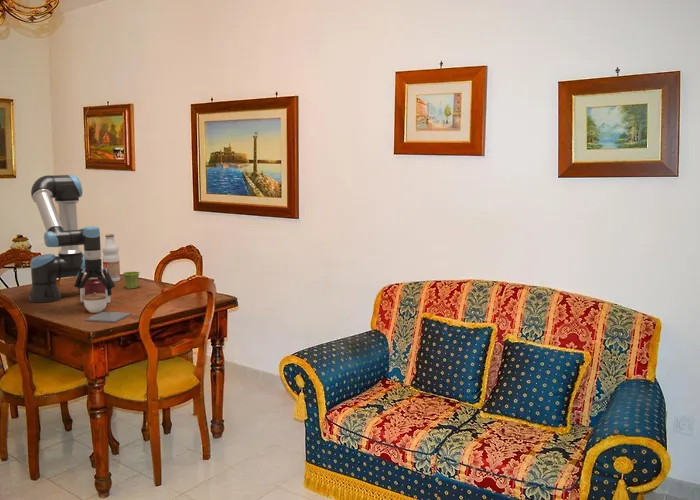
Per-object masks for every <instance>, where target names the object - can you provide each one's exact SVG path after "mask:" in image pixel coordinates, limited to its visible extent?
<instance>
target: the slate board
mask: <svg viewBox="0 0 700 500" xmlns="http://www.w3.org/2000/svg"><path fill="white" fill-rule="evenodd" d="M132 315H133V313H131V312H119V311H104V310H103V311H102V312H98V313H95V314H93V315H92V316H90V317H88V318H85V319H84V321H85V322H93V321H98V322H97V323H110V322H112V323H115V324H116V323H118V322H119V320H120V321H122V320H124V319H126V318H128V317H130V316H132ZM112 323H111V324H112Z"/></svg>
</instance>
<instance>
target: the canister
mask: <svg viewBox="0 0 700 500" xmlns="http://www.w3.org/2000/svg"><path fill="white" fill-rule="evenodd" d="M101 274H102V275H103V276H104V274H103V273H101ZM85 276H86V274H84V275H83V278H82V280H83V279H84V278H85ZM104 278H105V276H104ZM105 279H106V278H105ZM82 280H81V282H82ZM106 281H107V280H106ZM82 288H85V295H88V294H94V292H96V293H101V294H106V293H105V290H106V289H107V288H106V287H105V286H104V285H103V283H102V282H101V281H100V280H99V279H98V278H89V279H88V281H87V282H86V283H85V285H84V286H83V287H82ZM81 303H82V306H84V307H85V305H84V301H83V302H81ZM107 304H109V303H106V305H107Z"/></svg>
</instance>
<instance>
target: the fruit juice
mask: <svg viewBox="0 0 700 500" xmlns="http://www.w3.org/2000/svg"><path fill="white" fill-rule="evenodd" d="M101 252H102V253H103V255H102V269H106V268H107V269H108V273H109V275H110V277H111V279H112V281H113V283H115V282H120V280H121V266H120V256H119V246H118V245H117V243H116V242H115V234H112V233H108V234H105V243H104V245H103V246H102V248H101Z"/></svg>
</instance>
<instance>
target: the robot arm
mask: <svg viewBox="0 0 700 500" xmlns="http://www.w3.org/2000/svg"><path fill="white" fill-rule="evenodd" d="M30 195H31V200H32V201H33V202H34V203H36V206H37V209H38V212H39V214H40V217H41V220H42V222H43V227H44V228H45V231H46V232H44V234H43V241H44V244H45V247H47V248H59V247H61V248H60V250H59V251H58V256H56V255H55V254H54V253H46V254H39V255H37V256H34V257H32V258H31V260H30V273H31V290H30V293H29V296H28V298H29V299H28V300H29V302H30V303H49V302H55V301H59V300H61V299H62V293H61V291H60V289H59V286H58V283H57V279H64V278H73V277H74V278H75V277H77V278H76V280H75V283H74V287H75V288H77V290H78V295H79V296H80V297H79V300H80V302H81V303H82V302H83V301H84V299H83V296H85V288H82V287H83V286H84V285H85V283H86V282H87V281H88V279H89V278H98V279H99V280H100V281H101V282H102V283H103V285H104V286H105V287H106V288H107V289H106V290H105V293H106V303H108V304H109V303H111V302H112V301H111V296H112V290H113V289H114V288H115V287H116V285H115V282H113V281H112V279H111V277H110V275H109V273H108V269H107V268H106V269H103V260H102V248H101V246H102V244H101V232H100V227H99V226H93V225H92V226H84V227H83V228H80V229H78V213H77V212H78V211H77V203H79V201H80V198H81V197H82V196H83V186H82V182H81V181H80V179H79V177H78V176H77V175H73V174H62V175H61V174H59V175H54V174H53V175H51V174H50V175H44V176H41V177H39V178H37V179H36V180H35V181H34V183H33V184H32V187H31V189H30ZM53 199H54V200H53ZM54 202H55V203H56V204H57V205H58V210H57V209H56V206H55V203H54ZM79 246H83V251H82V249H80V247H79ZM101 273H102V274H104V276H105V278H106V279H105V278H104V276H103V275H102V274H101ZM85 275H86V276H85ZM83 276H85V278H84V279H83ZM106 280H107V281H106ZM81 281H82V282H81Z"/></svg>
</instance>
